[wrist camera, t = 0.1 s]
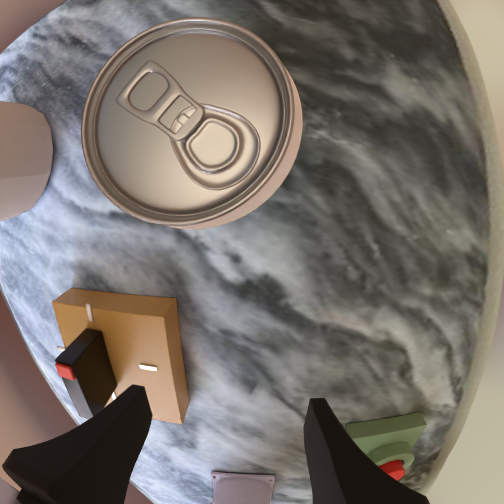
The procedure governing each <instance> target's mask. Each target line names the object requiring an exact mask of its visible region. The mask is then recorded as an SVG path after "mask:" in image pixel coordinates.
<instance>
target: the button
mask: <svg viewBox="0 0 504 504" xmlns="http://www.w3.org/2000/svg"><path fill="white" fill-rule="evenodd" d="M378 467H380V468H381V469H382V470H383V471H385V472H386V473H387V474H389V475H390V476H391V477H393V478H394V479H395V480H399V479H400V478H401V477H403V476H404V474H405V470H404V467H403V464H402V462H401V460H394V461H389V462H387V463H385V464H382V465H380V466H378Z"/></svg>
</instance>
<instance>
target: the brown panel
mask: <svg viewBox="0 0 504 504" xmlns="http://www.w3.org/2000/svg"><path fill="white" fill-rule="evenodd" d="M52 304H53V308H54V311H55V315H56V319H57V323H58V326H59V329H60V333H61V336H62V339H63V342H64V346H65V347H61V346H57V348H58V350H60V351H64V350H65V349H66V348H67V347H68V346H69V345H70V344H71V343H72V342H73V341H74V340H75V339H76V338H77V337H78V336H79V335H80V334H81V332H82V331H83V330H84V329H85V328H88V329H94V330H99V331H102V332H103V336H104V340H105V344H106V348H107V352H108V355H109V359H110V362H111V366H112V369H113V372H114V376H115V379H116V382H117V385H118V386H117V388H116V389H115V391H114V392H113V394H112V396H111V397H110V399H109V401H108V402H107V404H106V406H107V405H108V404H110V403H111V402H112V401H113V400H114V399H115V398H117V397H118V396H119V395H120V394H121V393H122V392H124V391H125V390H126V389H127V388H128V387H130V386H131V385H132V384H135V385H140V386H145V390H146V394H147V397H148V401H149V404H150V408H151V411H152V414H153V417H152V419H155V420H160V421H165V422H171V423H178V424H183V422H184V418H185V415H186V412H187V408H188V405H189V396H188V390H187V383H186V377H185V370H184V362H183V355H182V347H181V338H180V330H179V320H178V310H177V299H176V298H166V297H154V296H142V295H131V294H121V293H111V292H102V291H93V290H84V289H76V288H71V289H69V290H68V291H66V292H65V293H64V294H62V295H61V296H59V297H58V298H57V299H55V300H54V301H53V302H52ZM106 406H105V407H106ZM105 407H104V408H105Z"/></svg>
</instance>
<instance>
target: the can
mask: <svg viewBox="0 0 504 504" xmlns="http://www.w3.org/2000/svg"><path fill="white" fill-rule="evenodd" d="M302 121H303V120H302V108H301V102H300V98H299V95H298V91H297V89H296V86H295V84H294V82H293V80H292V78H291V76H290V74H289V73H288V71H287V70H286V68H285V67H284V66H283V64H282V62H281V60H280V59H279V57H278V56H277V55H276V53H275V52H274V51H273V50H272V49H271V47H270V46H269V45H268V44H267V43H266V42H264V41H263V40H262V39H261V38H260V37H258V36H257V35H255V34H254V33H252V32H251V31H249V30H247V29H246V28H243V27H241V26H239V25H237V24H234V23H231V22H228V21H224V20H220V19H215V18H206V17H191V18H182V19H176V20H172V21H168V22H164V23H161V24H159V25H156V26H154V27H151V28H149V29H147V30H145V31H143V32H141V33H140V34H138V35H136V36H135V37H133V38H132V39H130V40H129V41H128V42H126V43H125V44H124V45H123V46H122V47H120V48H119V49H118V50H117V51H116V52H115V53H114V54H113V55H112V56H111V57H110V59H109V60H108V61H107V62H106V63H105V65H104V66H103V67H102V69H101V70H100V72H99V73H98V75H97V77H96V78H95V80H94V82H93V84H92V86H91V88H90V91H89V93H88V96H87V99H86V102H85V106H84V110H83V116H82V124H81V140H82V148H83V154H84V158H85V161H86V164H87V167H88V170H89V172H90V174H91V176H92V178H93V180H94V181H95V183H96V185H97V186H98V188H99V189H100V190H101V191H102V193H103V194H104V195H105V196H106V197H107V198H108V199H109V200H110V201H111V202H112V203H113V204H114V205H115V206H117V207H118V208H119V209H121V210H122V211H124V212H125V213H127V214H129V215H131V216H133V217H135V218H137V219H140V220H142V221H145V222H149V223H153V224H158V225H164V226H168V227H173V228H180V229H204V228H211V227H216V226H220V225H223V224H226V223H229V222H232V221H234V220H237V219H239V218H241V217H243V216H245V215H247V214H248V213H250V212H252V211H253V210H255V209H256V208H258V207H259V206H260V205H261V204H263V203H264V202H265V201H266V200H267V199H268V198H269V197H271V195H272V194H273V193H274V192H275V191H276V190H277V189H278V188H279V186H280V185H281V184H282V182H283V181H284V180H285V178H286V177H287V175H288V173H289V172H290V170H291V168H292V166H293V163H294V161H295V159H296V156H297V153H298V150H299V146H300V141H301V136H302Z"/></svg>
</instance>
